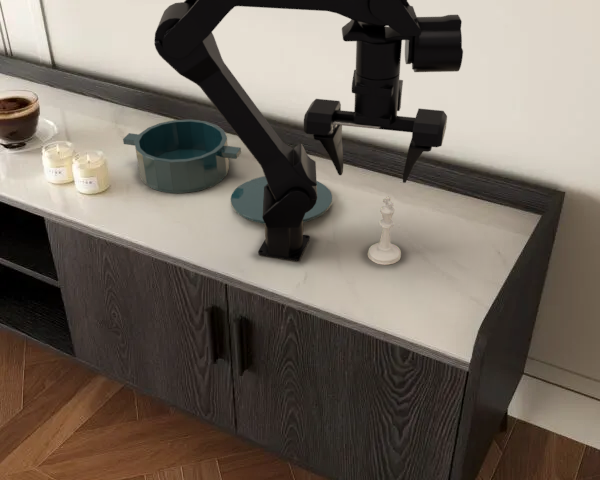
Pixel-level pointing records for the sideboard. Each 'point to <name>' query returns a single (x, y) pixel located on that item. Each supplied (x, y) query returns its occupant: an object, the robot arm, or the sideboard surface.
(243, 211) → the lid
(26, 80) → the sideboard surface
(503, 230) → the sideboard surface
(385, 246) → the chess piece
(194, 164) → the pot
